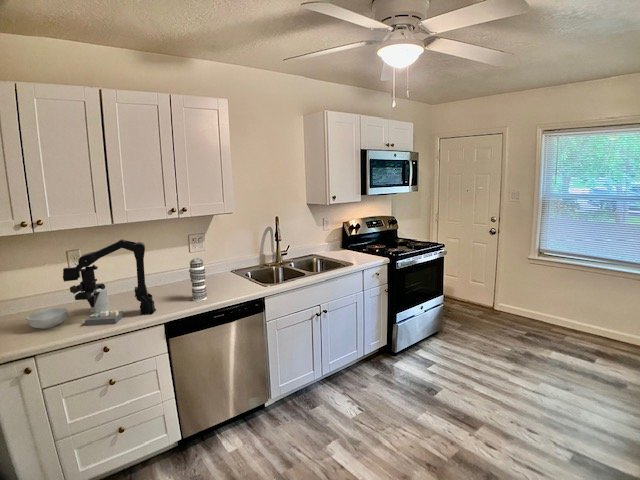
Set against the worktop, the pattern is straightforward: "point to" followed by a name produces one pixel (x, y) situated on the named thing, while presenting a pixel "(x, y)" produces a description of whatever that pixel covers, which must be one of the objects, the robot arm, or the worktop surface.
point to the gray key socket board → (104, 319)
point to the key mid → (104, 313)
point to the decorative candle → (198, 279)
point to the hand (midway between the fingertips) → (92, 307)
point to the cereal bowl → (47, 317)
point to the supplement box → (101, 302)
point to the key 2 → (114, 313)
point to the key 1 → (94, 315)
